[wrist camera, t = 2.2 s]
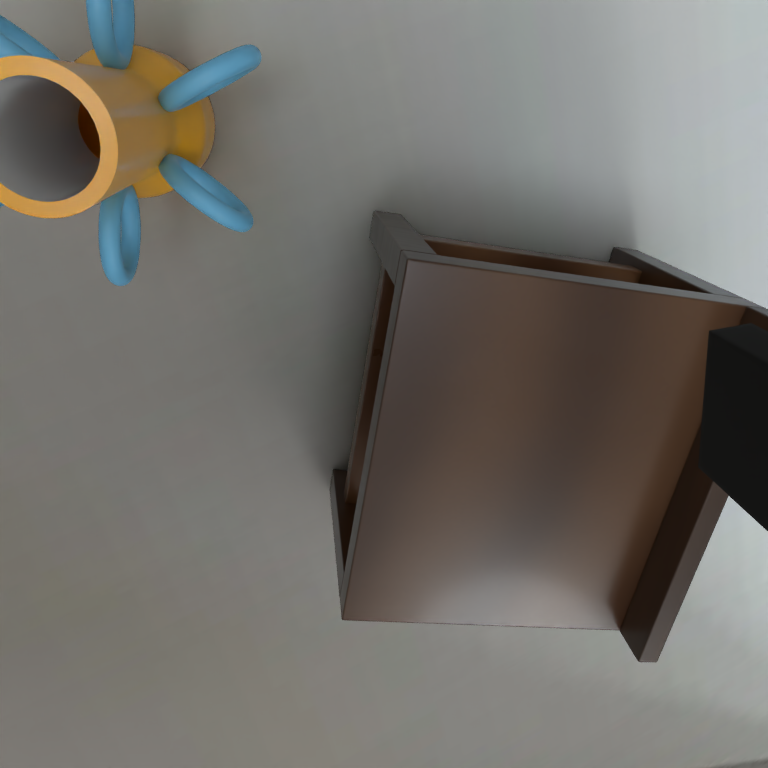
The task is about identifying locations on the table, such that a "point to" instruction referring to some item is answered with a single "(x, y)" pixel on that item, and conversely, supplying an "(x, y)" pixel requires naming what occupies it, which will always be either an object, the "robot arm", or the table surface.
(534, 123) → the table surface
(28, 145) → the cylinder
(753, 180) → the table surface
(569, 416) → the stand
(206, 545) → the table surface
